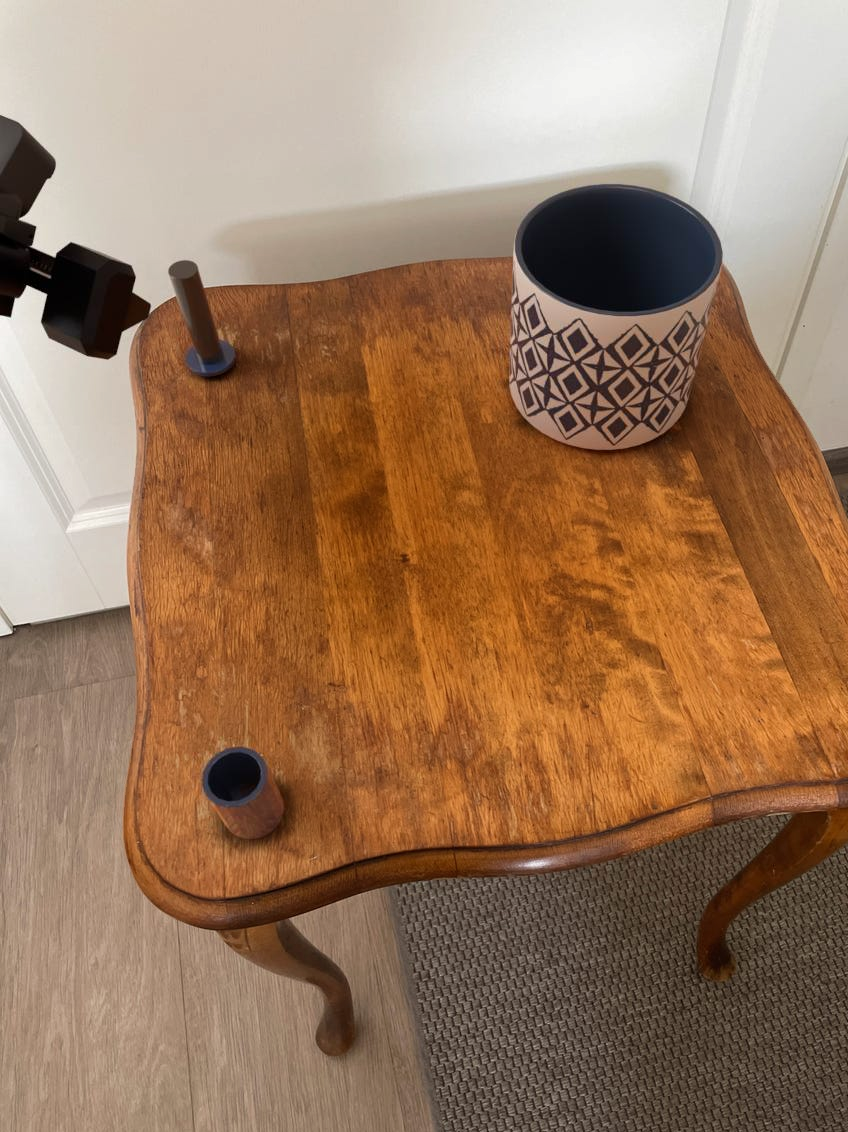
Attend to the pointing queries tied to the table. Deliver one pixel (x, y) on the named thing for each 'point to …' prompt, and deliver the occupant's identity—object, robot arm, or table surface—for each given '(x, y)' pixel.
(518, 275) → the planter
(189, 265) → the rod with blue collar
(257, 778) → the tin
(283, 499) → the table surface
